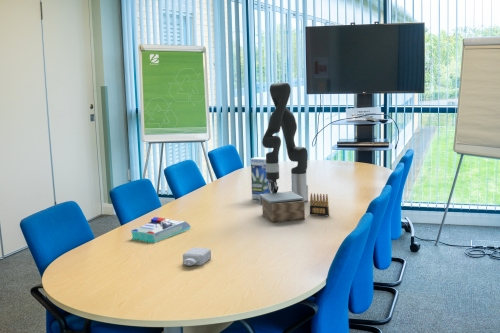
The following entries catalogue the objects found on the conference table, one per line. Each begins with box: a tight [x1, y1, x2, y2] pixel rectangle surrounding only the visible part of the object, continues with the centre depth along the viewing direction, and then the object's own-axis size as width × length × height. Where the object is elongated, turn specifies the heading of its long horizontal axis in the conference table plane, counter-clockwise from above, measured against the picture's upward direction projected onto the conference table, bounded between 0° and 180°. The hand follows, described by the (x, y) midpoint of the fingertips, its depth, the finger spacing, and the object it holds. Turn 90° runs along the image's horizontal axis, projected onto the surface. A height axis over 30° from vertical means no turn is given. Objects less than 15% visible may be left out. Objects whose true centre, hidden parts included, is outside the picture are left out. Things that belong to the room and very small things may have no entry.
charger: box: [182, 247, 212, 266], centre depth 244 cm, size 5×9×15 cm
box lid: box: [258, 190, 304, 206], centre depth 317 cm, size 19×20×6 cm
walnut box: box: [261, 198, 306, 224], centre depth 315 cm, size 18×18×10 cm
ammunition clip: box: [309, 192, 330, 216], centre depth 317 cm, size 11×2×12 cm, turn 65°
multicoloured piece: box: [130, 216, 191, 244], centre depth 292 cm, size 17×30×9 cm, turn 148°
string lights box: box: [250, 156, 270, 200], centre depth 364 cm, size 13×8×26 cm, turn 62°
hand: (273, 200), depth 330 cm, fingers closed
